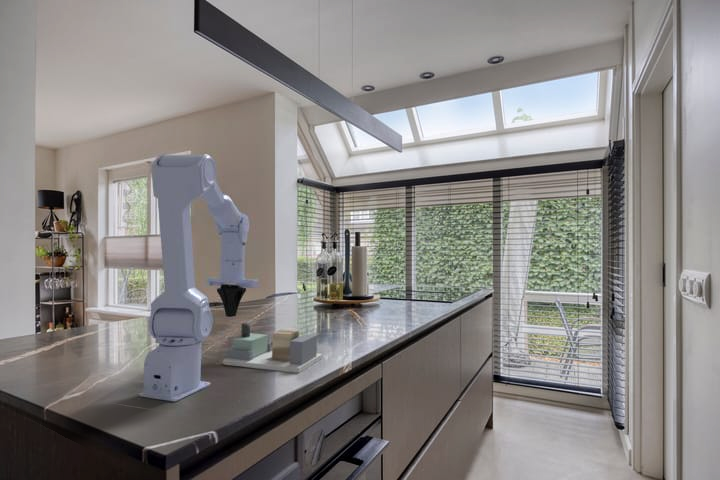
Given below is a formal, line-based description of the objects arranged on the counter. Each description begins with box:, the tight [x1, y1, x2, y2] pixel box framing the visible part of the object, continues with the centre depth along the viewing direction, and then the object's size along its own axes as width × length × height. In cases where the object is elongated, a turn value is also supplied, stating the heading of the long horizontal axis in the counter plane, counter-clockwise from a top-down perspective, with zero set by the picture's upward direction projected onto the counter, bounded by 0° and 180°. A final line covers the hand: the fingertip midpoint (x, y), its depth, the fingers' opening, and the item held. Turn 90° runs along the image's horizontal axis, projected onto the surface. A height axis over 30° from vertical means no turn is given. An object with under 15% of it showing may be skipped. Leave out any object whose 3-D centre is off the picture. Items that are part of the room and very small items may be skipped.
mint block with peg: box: [232, 322, 269, 358], centre depth 96 cm, size 7×5×7 cm
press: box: [222, 334, 323, 374], centre depth 94 cm, size 13×19×6 cm
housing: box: [270, 328, 300, 361], centre depth 94 cm, size 4×6×6 cm
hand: (230, 316), depth 98 cm, fingers closed
